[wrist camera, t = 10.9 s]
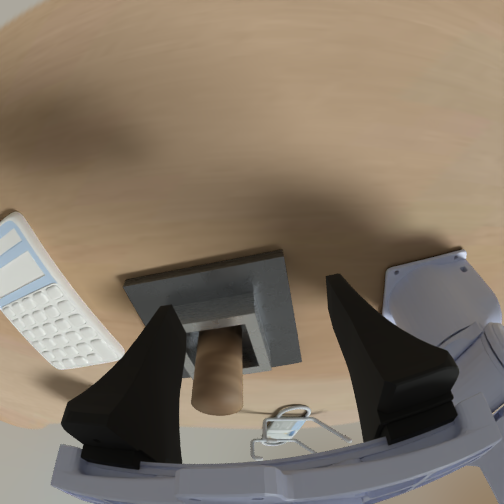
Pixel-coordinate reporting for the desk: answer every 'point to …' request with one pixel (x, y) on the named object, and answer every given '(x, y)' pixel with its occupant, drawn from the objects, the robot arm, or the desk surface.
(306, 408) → the wall mount rack
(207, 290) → the docking plate
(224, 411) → the wooden cylinder
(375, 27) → the desk surface
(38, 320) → the calculator
